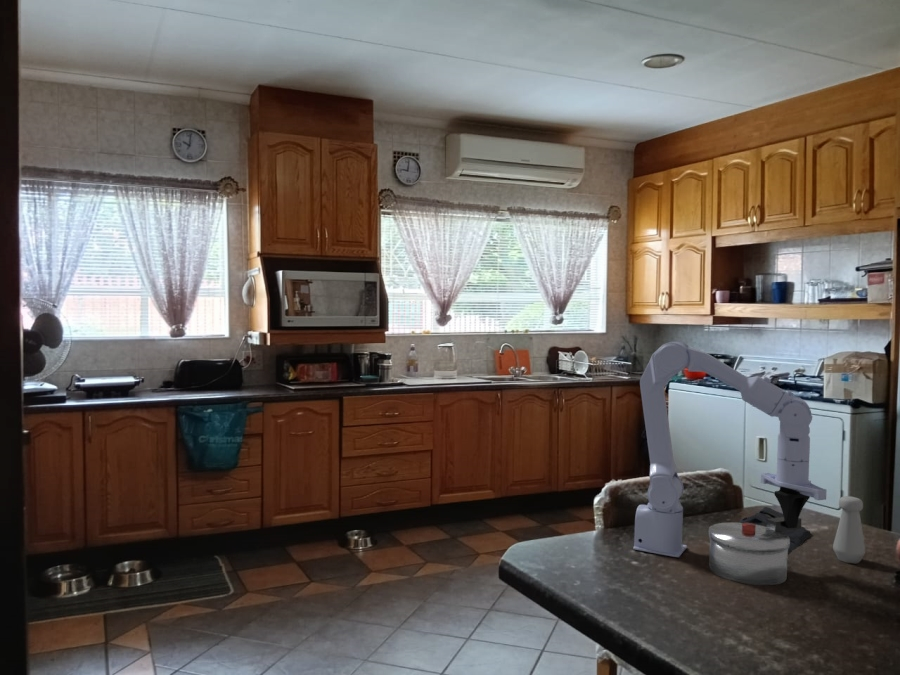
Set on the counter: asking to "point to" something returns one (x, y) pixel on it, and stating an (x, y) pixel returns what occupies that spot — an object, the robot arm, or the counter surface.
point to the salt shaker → (849, 531)
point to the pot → (748, 565)
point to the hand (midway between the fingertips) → (790, 527)
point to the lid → (753, 535)
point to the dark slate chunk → (795, 535)
